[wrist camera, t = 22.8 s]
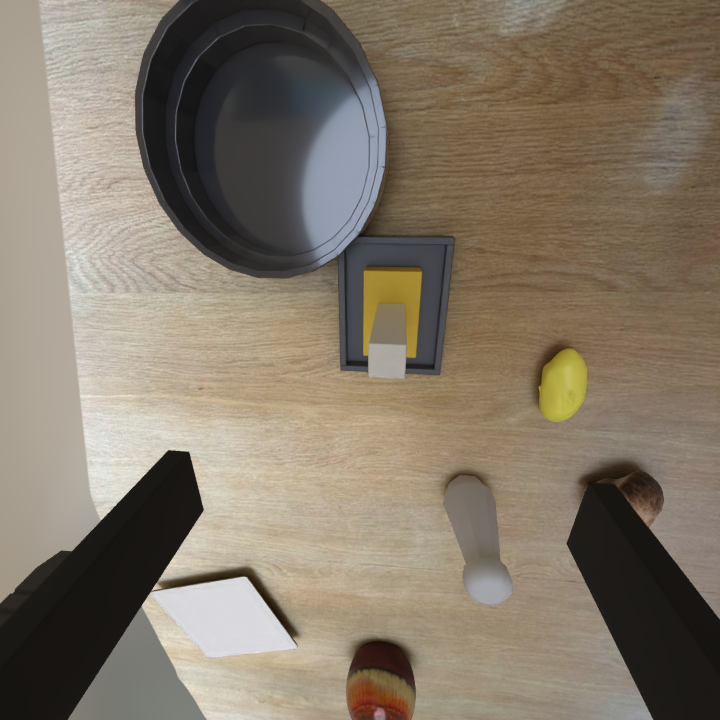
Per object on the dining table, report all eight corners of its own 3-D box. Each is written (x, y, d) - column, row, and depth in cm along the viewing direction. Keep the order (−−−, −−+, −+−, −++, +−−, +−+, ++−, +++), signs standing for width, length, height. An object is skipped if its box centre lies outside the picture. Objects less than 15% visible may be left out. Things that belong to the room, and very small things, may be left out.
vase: (349, 666, 62) (333, 801, 48) (351, 630, 57) (336, 768, 43) (410, 676, 61) (413, 817, 47) (418, 641, 56) (424, 785, 42)
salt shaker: (495, 498, 43) (531, 611, 31) (450, 509, 44) (468, 619, 32) (481, 463, 41) (514, 568, 29) (435, 475, 42) (448, 580, 30)
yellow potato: (524, 409, 37) (537, 430, 34) (543, 340, 34) (560, 355, 30) (565, 412, 37) (582, 434, 33) (588, 343, 33) (610, 359, 30)
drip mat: (340, 235, 32) (337, 236, 30) (452, 236, 31) (454, 237, 29) (342, 363, 37) (340, 370, 36) (438, 368, 36) (439, 375, 35)
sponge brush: (366, 265, 32) (347, 298, 20) (420, 266, 32) (432, 301, 20) (365, 344, 35) (348, 412, 24) (414, 346, 35) (421, 417, 23)
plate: (250, 564, 53) (245, 578, 51) (301, 635, 59) (298, 649, 58) (156, 581, 57) (148, 593, 56) (213, 645, 64) (207, 659, 62)
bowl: (434, 157, 29) (442, 146, 23) (295, 304, 35) (276, 322, 30) (268, -47, 25) (230, -119, 19) (146, 161, 31) (92, 151, 26)
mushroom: (563, 498, 37) (625, 547, 33) (610, 443, 37) (679, 483, 33) (574, 512, 43) (628, 555, 38) (615, 463, 43) (675, 500, 38)
